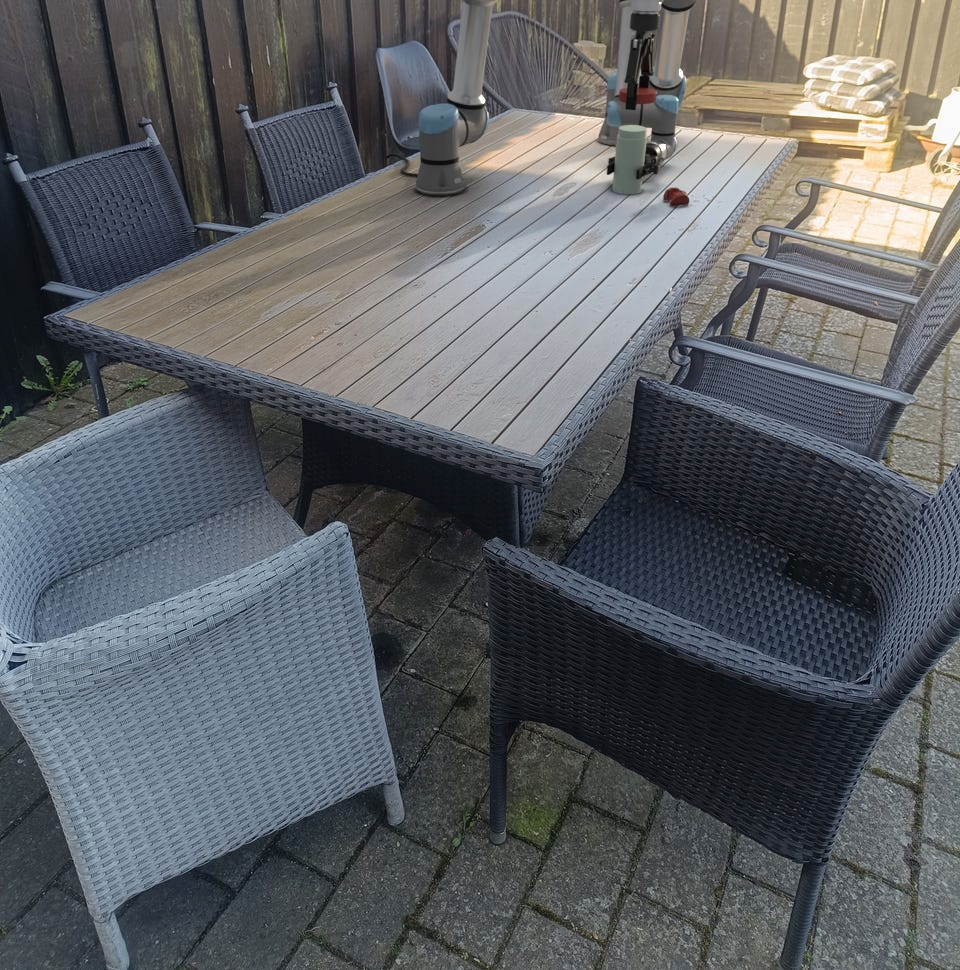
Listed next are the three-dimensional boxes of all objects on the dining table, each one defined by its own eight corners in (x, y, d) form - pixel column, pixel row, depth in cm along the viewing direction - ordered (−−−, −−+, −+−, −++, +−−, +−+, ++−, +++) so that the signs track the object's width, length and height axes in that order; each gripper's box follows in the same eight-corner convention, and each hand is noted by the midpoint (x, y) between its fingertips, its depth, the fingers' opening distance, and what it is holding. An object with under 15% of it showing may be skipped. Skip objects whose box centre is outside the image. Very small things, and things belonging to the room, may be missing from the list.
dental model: (680, 183, 249) (692, 191, 242) (678, 197, 251) (690, 206, 245) (662, 185, 248) (674, 193, 241) (661, 199, 250) (672, 208, 244)
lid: (611, 99, 229) (611, 90, 227) (636, 95, 233) (637, 85, 232) (637, 106, 222) (638, 96, 221) (663, 101, 227) (664, 91, 226)
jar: (646, 190, 258) (653, 128, 248) (630, 196, 253) (636, 133, 243) (623, 184, 263) (629, 123, 253) (606, 190, 258) (611, 128, 248)
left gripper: (647, 18, 206) (637, 115, 219) (671, 8, 222) (661, 99, 235) (617, 16, 209) (609, 112, 222) (644, 6, 225) (635, 96, 238)
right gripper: (681, 172, 265) (655, 190, 249) (617, 162, 274) (588, 180, 258) (684, 147, 260) (658, 164, 245) (620, 138, 269) (590, 154, 253)
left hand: (636, 105), depth 229 cm, fingers closed on lid, 10 cm apart
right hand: (622, 172), depth 251 cm, fingers closed on jar, 9 cm apart
